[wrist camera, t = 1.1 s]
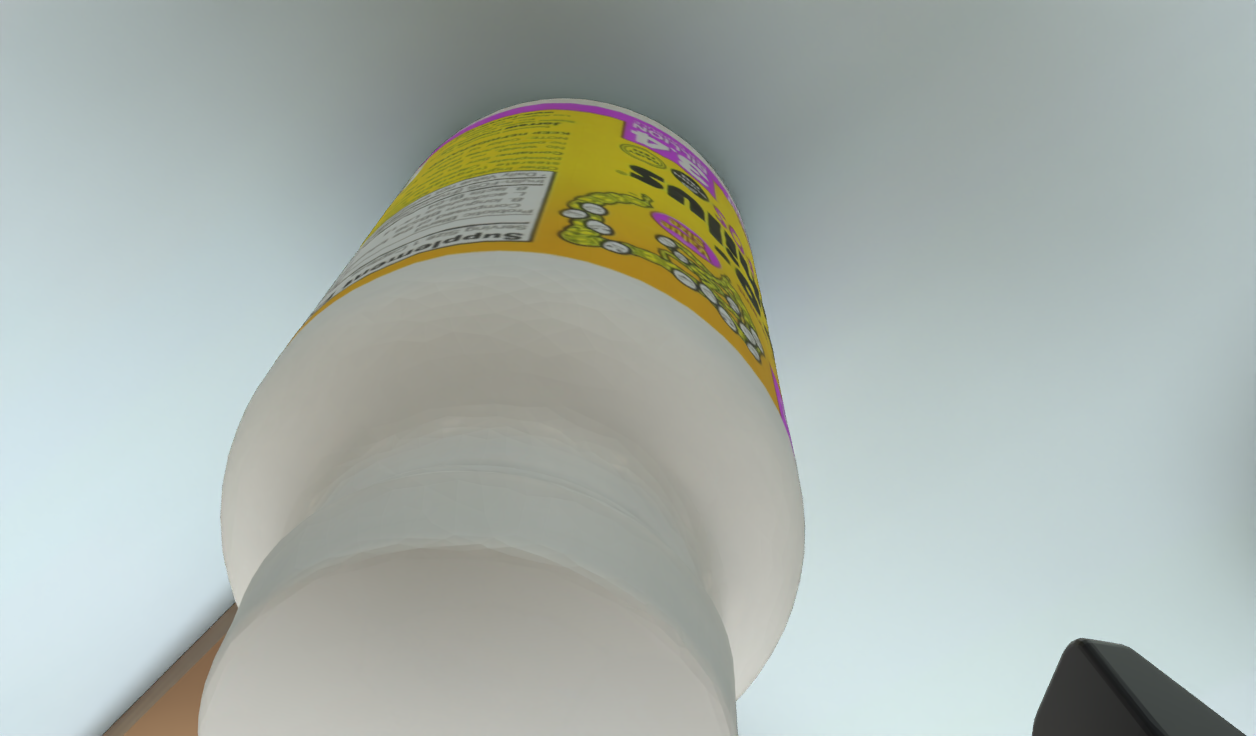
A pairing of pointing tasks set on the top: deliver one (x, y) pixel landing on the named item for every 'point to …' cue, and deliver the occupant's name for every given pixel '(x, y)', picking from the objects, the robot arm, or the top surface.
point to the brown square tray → (176, 690)
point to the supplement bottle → (518, 457)
